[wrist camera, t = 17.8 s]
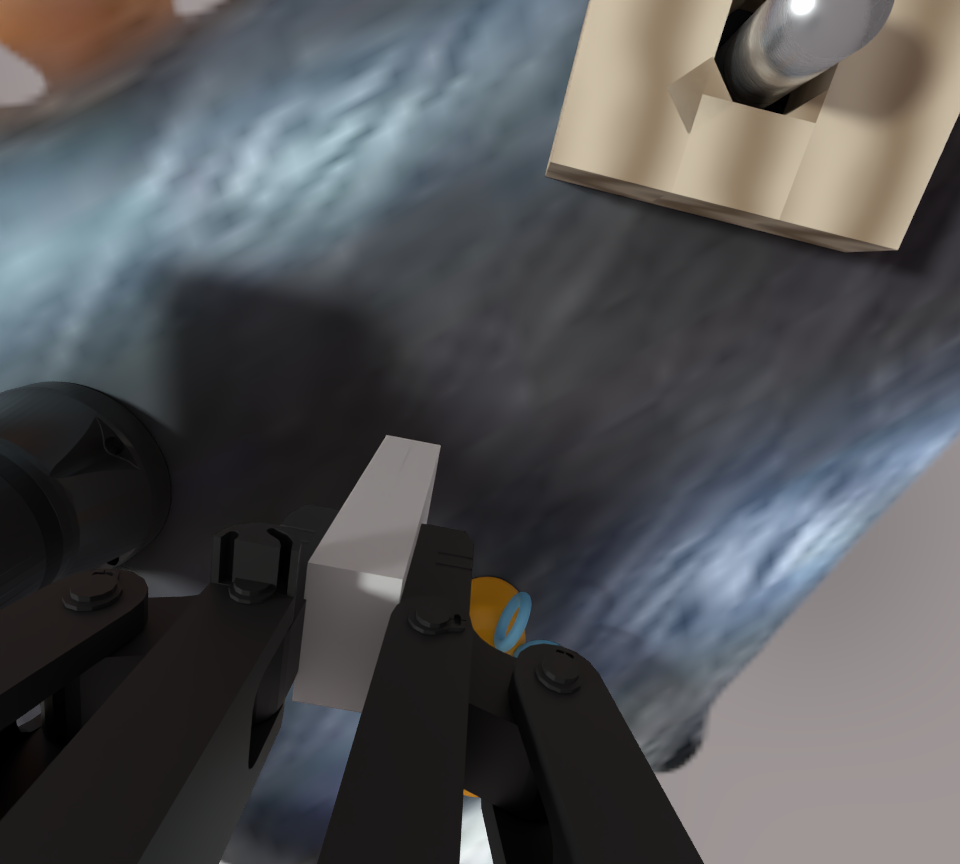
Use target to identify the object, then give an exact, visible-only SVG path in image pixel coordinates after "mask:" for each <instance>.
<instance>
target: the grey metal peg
mask: <svg viewBox="0 0 960 864" xmlns="http://www.w3.org/2000/svg"><path fill="white" fill-rule="evenodd" d="M893 4H894V0H766V1H765V2H764V3H763V4H762V5H761V6H760V7H759V8H758V9H757V10H756V11H755V12H754V13H753V14H752V15H751V16H750V17H749V19H748V20H747V21H746V22H745V23H744V24H743V25H742V26H741V27H740V28H739V29H738V30H737V31H736V32H735V33H734V34H733V35H732V36H731V37H730V38H729V39H728V40H727V41H726V42H725V44H724V45H723V46H722V47H721V48H720V49H719V50H718V51H717V52H716V54H715V57H714V61H715V63H716V65H717V67H718V70H719V72H720V74H721V77H722V79H723V81H724V83H725V86H726V88H727V90H728V93H729V95H730V97H731V99H732V102H735V103H739V104H743V105H747V106H751V107H754V108H758V109H762V110H763V109H764V108H766V107H768V106H769V105H771V104H772V103H774V102H776V101H777V100H779V99H780V98H782V97H784V96H785V95H787V94H789V93H790V92H792V91H793V90H795V89H797V88H798V87H800V86H801V85H803V84H805V83H806V82H808V81H810V80H811V79H813V78H814V77H816V76H818V75H819V74H821V73H822V72H824V71H826V70H827V69H829V68H830V67H832V66H834V65H835V64H837V63H839V62H840V61H842V60H843V59H845V58H847V57H848V56H850V55H851V54H853V53H855V52H856V51H858V50H860V49H861V48H862V47H864V46H865V45H867V44H868V43H869V42H870V41H871V40H872V39H873V38H874V37H875V36H876V35H877V34H878V33H879V31H880V30H881V29H882V27H883V26H884V24H885V22H886V21H887V19H888V17H889V15H890V13H891V10H892V7H893Z"/></svg>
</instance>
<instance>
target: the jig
mask: <svg viewBox="0 0 960 864" xmlns="http://www.w3.org/2000/svg"><path fill="white" fill-rule="evenodd" d="M765 1H766V0H589V3H588V7H587V11H586V15H585V19H584V23H583V27H582V31H581V35H580V39H579V43H578V47H577V51H576V55H575V59H574V63H573V67H572V71H571V75H570V79H569V83H568V87H567V91H566V95H565V99H564V103H563V107H562V111H561V115H560V119H559V123H558V127H557V131H556V135H555V139H554V143H553V146H552V150H551V154H550V158H549V162H548V166H547V170H546V174H545V176H546V177H550V178H553V179H557V180H561V181H565V182H569V183H573V184H577V185H581V186H585V187H589V188H593V189H597V190H601V191H605V192H609V193H613V194H617V195H621V196H625V197H629V198H632V199H636V200H640V201H644V202H648V203H652V204H656V205H660V206H664V207H668V208H672V209H676V210H680V211H684V212H688V213H692V214H696V215H700V216H704V217H708V218H711V219H715V220H719V221H723V222H727V223H731V224H735V225H739V226H743V227H747V228H751V229H755V230H759V231H763V232H767V233H771V234H775V235H779V236H783V237H787V238H790V239H794V240H798V241H802V242H806V243H810V244H814V245H818V246H822V247H826V248H830V249H834V250H838V251H842V252H864V251H888V250H898V249H899V247H900V244H901V242H902V240H903V238H904V235H905V233H906V231H907V229H908V227H909V224H910V222H911V220H912V218H913V215H914V213H915V211H916V209H917V207H918V204H919V202H920V200H921V198H922V195H923V193H924V191H925V189H926V187H927V184H928V182H929V180H930V178H931V175H932V173H933V171H934V169H935V166H936V164H937V162H938V160H939V158H940V155H941V153H942V151H943V149H944V146H945V144H946V142H947V140H948V138H949V135H950V133H951V131H952V129H953V126H954V124H955V122H956V120H957V118H958V115H959V113H960V0H894V4H893V7H892V10H891V13H890V15H889V17H888V19H887V21H886V22H885V24H884V26H883V27H882V29H881V30H880V31H879V33H878V34H877V35H876V36H875V37H874V38H873V39H872V40H871V41H870V42H869V43H868V44H867V45H865V46H864V47H862V48H861V49H860V50H858V51H856V52H855V53H853V54H851V55H850V56H848V57H847V58H845V59H843V60H842V61H840V62H839V63H837V64H835V65H834V66H832V67H830V68H829V69H827V70H826V71H824V72H822V73H821V74H819V75H818V76H816V77H814V78H813V79H811V80H810V81H808V82H806V83H805V84H803V85H801V86H800V87H798V88H797V89H795V90H793V91H792V92H791V93H790V95H789V98H788V101H787V104H786V106H785V109H784V112H783V115H782V114H778V113H774V112H770V111H766V110H762V109H758V108H754V107H751V106H747V105H743V104H739V103H735V102H732V99H731V97H730V95H729V93H728V90H727V88H726V86H725V83H724V81H723V79H722V77H721V74H720V72H719V70H718V67H717V65H716V63H715V61H714V57H715V54H716V51H717V47H718V44H719V41H720V38H721V35H722V32H723V29H724V25H725V22H726V19H727V16H728V15H730V14H731V13H733V12H734V11H736V10H737V9H741V10H745V11H749V12H753V13H754V12H755V11H756V10H757V9H758V8H759V7H760V6H761V5H762V4H763V3H764V2H765Z"/></svg>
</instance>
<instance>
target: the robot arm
mask: <svg viewBox="0 0 960 864" xmlns="http://www.w3.org/2000/svg"><path fill="white" fill-rule="evenodd" d="M440 448H441V445H436V444H431V443H426V442H421V441H415V440H410V439H405V438H400V437H394V436H389V435H386V437H385V438H384V440H383V442H382V443H381V445H380V447H379V448H378V450H377V451H376V453H375V455H374V456H373V458H372V459H371V461H370V463H369V464H368V466H367V468H366V469H365V471H364V472H363V474H362V476H361V477H360V479H359V480H358V482H357V484H356V485H355V487H354V489H353V490H352V492H351V493H350V495H349V497H348V498H347V500H346V501H345V503H344V505H343V506H342V508H341V510H338V509H332V508H327V507H322V506H316V505H311V504H307V505H305V506H303V507H301V508H299V509H297V510H295V511H292V512H290V513H289V515H288V516H287V517H286V518H285V520H284V521H283V522H282V523H281V525H280V526H279V525H276V524H271V523H259V522H254V523H244V524H237V525H234V526H231V527H228V528H224V529H223V530H221V531H219V532H218V533H216V534H215V535H213V543H212V562H211V582H210V583H209V584H208V586H207V587H206V588H205V589H204V590H203V591H202V592H201V594H200V595H194V596H184V597H157V598H148V587H147V584H146V582H145V580H144V579H143V578H142V577H140V576H138V575H137V574H135V573H133V572H129V571H124V570H119V569H112V568H114V567H116V566H119V565H120V564H122V563H124V562H126V561H127V560H129V559H130V558H131V557H133V556H134V555H135V554H137V553H138V552H139V551H141V550H142V549H143V548H145V547H146V546H147V545H148V544H149V543H151V542H152V541H153V540H154V538H155V537H156V536H157V535H158V533H159V532H160V531H161V529H162V527H163V525H164V523H165V521H166V518H167V516H168V512H169V508H170V501H171V485H170V478H169V473H168V469H167V466H166V463H165V460H164V458H163V455H162V453H161V451H160V449H159V447H158V445H157V444H156V442H155V440H154V439H153V437H152V436H151V435H150V433H149V432H148V431H147V429H146V428H145V427H144V426H143V424H142V423H141V422H140V421H139V420H138V419H137V418H136V417H135V416H134V415H133V414H132V413H130V412H129V411H128V410H127V409H126V408H124V407H123V406H122V405H120V404H119V403H117V402H116V401H114V400H113V399H111V398H109V397H108V396H106V395H104V394H102V393H100V392H98V391H95V390H93V389H90V388H87V387H84V386H81V385H77V384H72V383H66V382H40V383H35V384H31V385H27V386H23V387H19V388H15V389H11V390H7V391H4V392H2V393H0V864H219V862H220V860H221V858H222V856H223V853H224V851H225V849H226V847H227V844H228V842H229V840H230V838H231V836H232V833H233V831H234V829H235V827H236V825H237V822H238V820H239V818H240V816H241V814H242V811H243V809H244V807H245V805H246V803H247V800H248V798H249V796H250V794H251V792H252V789H253V787H254V785H255V783H256V781H257V778H258V776H259V774H260V772H261V770H262V767H263V765H264V763H265V761H266V758H267V756H268V754H269V752H270V750H271V747H272V745H273V743H274V741H275V739H276V736H277V734H278V732H279V730H280V728H281V723H282V718H283V712H284V703H285V698H286V696H287V694H288V692H289V690H290V688H291V685H292V683H293V681H294V679H295V682H294V690H293V699H292V701H296V702H302V703H308V704H314V705H320V706H325V707H331V708H337V709H343V710H349V711H355V712H360V713H362V714H361V717H360V721H359V724H358V727H357V731H356V734H355V738H354V741H353V744H352V748H351V751H350V755H349V758H348V761H347V765H346V768H345V772H344V775H343V778H342V782H341V785H340V789H339V792H338V795H337V799H336V802H335V805H334V809H333V812H332V816H331V819H330V822H329V826H328V829H327V833H326V836H325V839H324V843H323V846H322V850H321V853H320V856H319V860H318V863H317V864H459V861H460V844H461V826H462V809H463V792H464V789H465V790H466V791H468V792H470V793H472V794H474V795H476V796H478V797H480V798H481V809H482V813H483V818H484V823H485V827H486V832H487V836H488V841H489V845H490V850H491V855H492V859H493V864H704V863H703V861H702V859H701V857H700V855H699V854H698V852H697V850H696V848H695V846H694V845H693V843H692V841H691V839H690V837H689V836H688V834H687V832H686V830H685V829H684V827H683V825H682V823H681V821H680V819H679V818H678V816H677V814H676V812H675V810H674V809H673V807H672V805H671V803H670V801H669V800H668V798H667V796H666V794H665V792H664V791H663V789H662V787H661V785H660V783H659V781H658V780H657V778H656V776H655V774H654V772H653V771H652V769H651V767H650V765H649V763H648V762H647V760H646V758H645V756H644V754H643V752H642V751H641V749H640V747H639V745H638V743H637V742H636V740H635V738H634V736H633V734H632V733H631V731H630V729H629V727H628V725H627V724H626V722H625V720H624V718H623V716H622V715H621V713H620V711H619V709H618V707H617V706H616V704H615V702H614V700H613V698H612V697H611V695H610V693H609V691H608V689H607V687H606V686H605V684H604V682H603V680H602V678H601V677H600V675H599V673H598V672H597V671H596V670H595V668H594V667H593V666H592V665H591V663H590V662H589V661H587V660H586V659H585V658H583V657H582V656H580V655H579V654H578V653H576V652H574V651H572V650H569V649H567V648H564V647H562V646H559V645H552V644H545V643H543V644H537V645H530V646H529V647H527V648H525V649H524V650H522V651H521V652H520V653H519V655H518V657H517V658H516V657H514V656H511V655H509V654H507V653H504V652H502V651H500V650H498V649H496V648H494V647H492V646H491V645H489V644H488V643H487V642H485V641H484V640H483V639H481V638H480V636H479V635H478V634H477V633H476V632H475V631H474V629H473V627H472V622H471V618H470V615H469V613H470V598H471V583H472V568H473V552H474V544H473V542H472V541H471V539H470V538H469V536H468V534H467V533H466V531H460V530H455V529H450V528H444V527H439V526H434V525H428V524H427V519H428V513H429V508H430V502H431V497H432V491H433V486H434V480H435V475H436V470H437V464H438V459H439V453H440ZM38 704H40V705H41V714H39V715H38V716H36V717H35V718H34V719H32V720H31V721H29V722H27V723H25V724H23V725H21V726H19V727H18V726H17V723H16V720H17V719H18V718H20V717H21V716H23V715H24V714H26V713H27V712H28V711H30V710H31V709H33V708H34V707H35V706H37V705H38Z"/></svg>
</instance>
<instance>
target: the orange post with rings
mask: <svg viewBox="0 0 960 864" xmlns="http://www.w3.org/2000/svg"><path fill="white" fill-rule="evenodd" d="M531 606H532V602H531V597H530V596H529V594H528V593H526V592H518V591H517V590H516V589H515V588H514V587H513V586H512V585H511V584H509V583H508V582H506V581H504V580H502V579H499V578H495V577H487V576H485V577H478V578H474V579H472V583H471V598H470V613H469V615H470V618H471V622H472V627H473V629H474V631H475V632H476V633H477V634H478V635H479V636H480V638H481V639H483V640H484V641H485V642H487V643H488V644H489V645H491V646H492V647H494V648H496V649H498V650H500V651H502V652H504V653H507V654H509V655H511V656H514V657H516V658H517V657H518V655H519V653H520V652H521V651H522V650H524V649H525V648H527V647H529V646H530V645H537V644H543V643H545V644H552V645H559V644H557V643H555V642H552V641H548V640H532V641H529V642H526V643H525V641H526V632H525V627H526V625H527V622H528V620H529V616H530V612H531ZM559 646H561V645H559ZM463 795H466V796H470V797H478V796H476V795H474V794H472V793H470V792H468V791H466V790H465V789H464V792H463Z"/></svg>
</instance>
